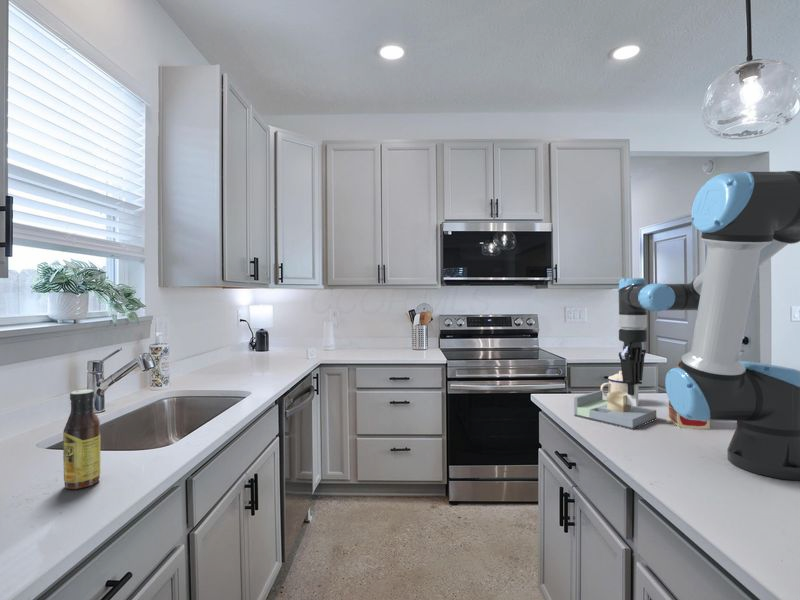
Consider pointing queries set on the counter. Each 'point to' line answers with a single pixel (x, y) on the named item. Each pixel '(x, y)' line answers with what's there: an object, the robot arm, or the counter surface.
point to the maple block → (617, 401)
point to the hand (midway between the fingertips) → (632, 404)
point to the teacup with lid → (615, 384)
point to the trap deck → (610, 412)
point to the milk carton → (683, 421)
